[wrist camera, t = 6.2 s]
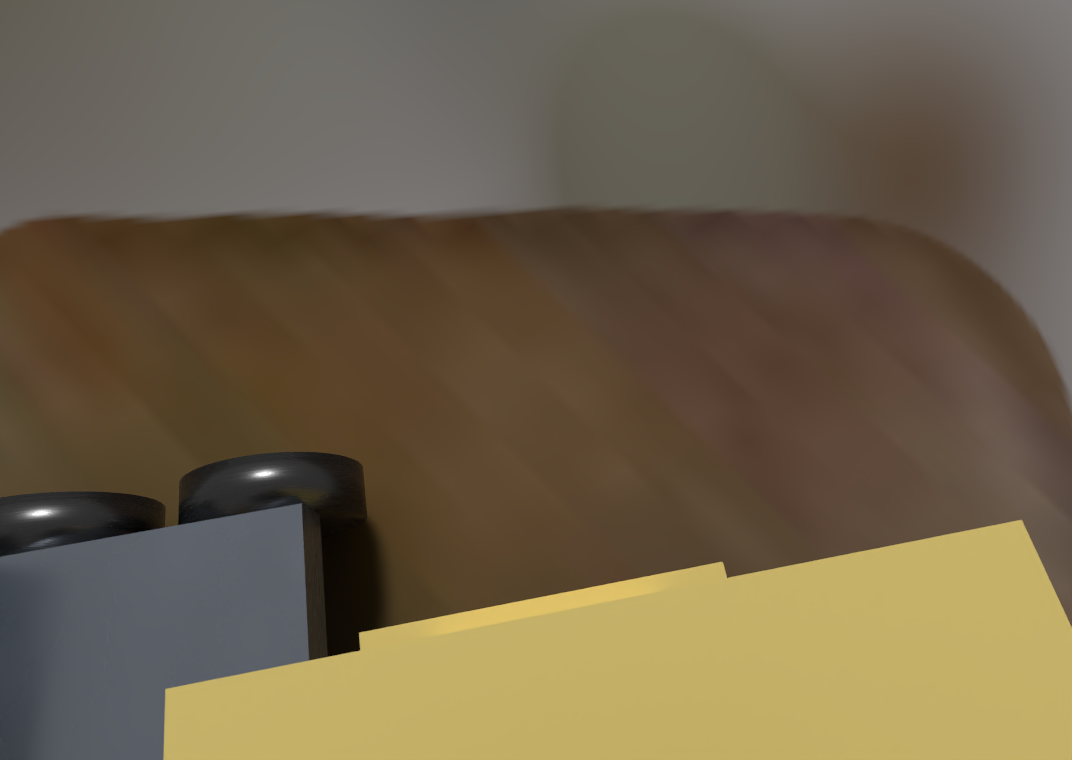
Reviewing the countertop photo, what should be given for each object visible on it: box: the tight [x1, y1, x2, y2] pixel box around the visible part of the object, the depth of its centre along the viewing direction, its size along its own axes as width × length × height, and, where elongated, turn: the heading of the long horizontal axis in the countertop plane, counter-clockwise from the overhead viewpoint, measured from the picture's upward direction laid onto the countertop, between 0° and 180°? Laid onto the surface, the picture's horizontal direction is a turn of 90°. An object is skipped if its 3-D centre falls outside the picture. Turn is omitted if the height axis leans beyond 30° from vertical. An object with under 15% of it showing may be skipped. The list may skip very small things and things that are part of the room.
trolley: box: [0, 452, 367, 760], centre depth 15 cm, size 10×11×8 cm
